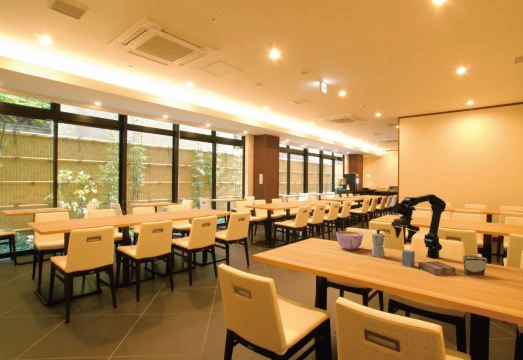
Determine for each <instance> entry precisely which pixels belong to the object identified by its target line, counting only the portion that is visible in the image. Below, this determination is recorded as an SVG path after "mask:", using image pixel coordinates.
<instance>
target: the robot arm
mask: <svg viewBox="0 0 523 360" xmlns="http://www.w3.org/2000/svg"><path fill="white" fill-rule="evenodd" d="M426 202H428V204H430V208H431V210H432V211H431V212H432V215H431V220H430V225H429V231H428V233H427V234H425V235H424V239H423V242H424V245H425V246H424V247H425V248H427V254H426V255H425V256H426V257H427V258H430V259H434V260H435V259H442V257H441V256H440V251H441V250H442V248H443V246H442V244H441V243H440V238H439V235H438V234H439V233H438V232H439V228H440V227H439V226H440V221H441V216H442V214H443V212H444V211H445V210H446V207H447V203H446V202H445V201H444V200H443V199H442V198H440V197H438V196H437V194H436V195H435V194H434V193H433V194H431V193H430V194H429V193H428V194H424V195H419V196H412V197H411V196H405V197H404V198H403V199H402V201H400V203H399V202H395V204H394V205H393V206H392V212H393V214H396V215H398V214H399V215H401V216H399V218H394V219H393V221H391V225H390V226H392V228H393V229H394V232H395V236H396V239H398V238H399V237H400V235H401V232H402V230H403V229H402V228H406V229H407V239H406V240H407V241H408V242H410V240H411V239H412V238H413V237H414V235H415V234H417V233H418V232H420V230H421V228H420V226H416V225H412V224H411V223H412V221H414V218H413V214H414V213H413V212H415V211H416V210H417V209H416V208H415V206H417V205H419V204H420V203H426Z"/></svg>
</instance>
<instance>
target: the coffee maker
mask: <svg viewBox="0 0 523 360" xmlns="http://www.w3.org/2000/svg"><path fill="white" fill-rule="evenodd" d="M371 239H372V240H371V241H372V244H373V246H372V250H371V256H372V257H374V258H385V257H386V255H385V250H384V242H385V234H383V233H381V230H380V229H376V233H372V234H371Z"/></svg>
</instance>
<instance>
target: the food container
mask: <svg viewBox="0 0 523 360" xmlns="http://www.w3.org/2000/svg"><path fill="white" fill-rule="evenodd" d="M461 260H462V261H463V269H464V270H463V271H464V275H465V276H467V277H485V274H486V265H487V263H488V259H487V258H486V257H484V256H480V255H471V254H469V255H466V254H465V255H463V256H462V259H461Z"/></svg>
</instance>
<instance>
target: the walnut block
mask: <svg viewBox="0 0 523 360" xmlns="http://www.w3.org/2000/svg"><path fill="white" fill-rule="evenodd" d="M417 265H418V266H417V268H418V269H419V270H421V269H422V271H424V272H426V273H429V274H431V275H433V276H445V275H446V276H447V275H449V276H450V275H456V267H454V266H452V265H448V264H445V263H443V262H440V261H420V262H419V261H418V264H417Z"/></svg>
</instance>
